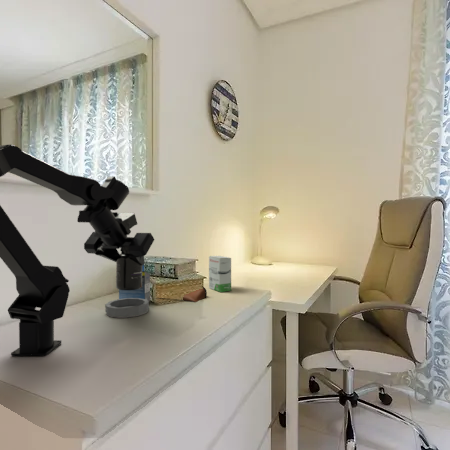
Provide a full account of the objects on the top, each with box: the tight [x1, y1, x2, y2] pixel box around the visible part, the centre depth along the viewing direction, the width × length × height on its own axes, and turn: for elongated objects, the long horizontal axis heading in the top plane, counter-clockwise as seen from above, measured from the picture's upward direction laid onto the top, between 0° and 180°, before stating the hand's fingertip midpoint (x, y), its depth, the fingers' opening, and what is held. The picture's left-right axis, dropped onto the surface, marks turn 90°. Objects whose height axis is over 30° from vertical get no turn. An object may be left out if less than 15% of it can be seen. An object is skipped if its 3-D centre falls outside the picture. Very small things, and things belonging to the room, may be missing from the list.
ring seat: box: [104, 298, 150, 319], centre depth 90 cm, size 11×11×2 cm
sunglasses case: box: [183, 286, 208, 303], centre depth 107 cm, size 18×7×7 cm
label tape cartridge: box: [118, 264, 151, 302], centre depth 101 cm, size 9×4×12 cm, turn 76°
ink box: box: [208, 255, 232, 293], centre depth 118 cm, size 9×5×12 cm, turn 30°
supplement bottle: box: [115, 246, 142, 291], centre depth 90 cm, size 7×7×12 cm
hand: (132, 263), depth 91 cm, fingers closed on supplement bottle, 7 cm apart
